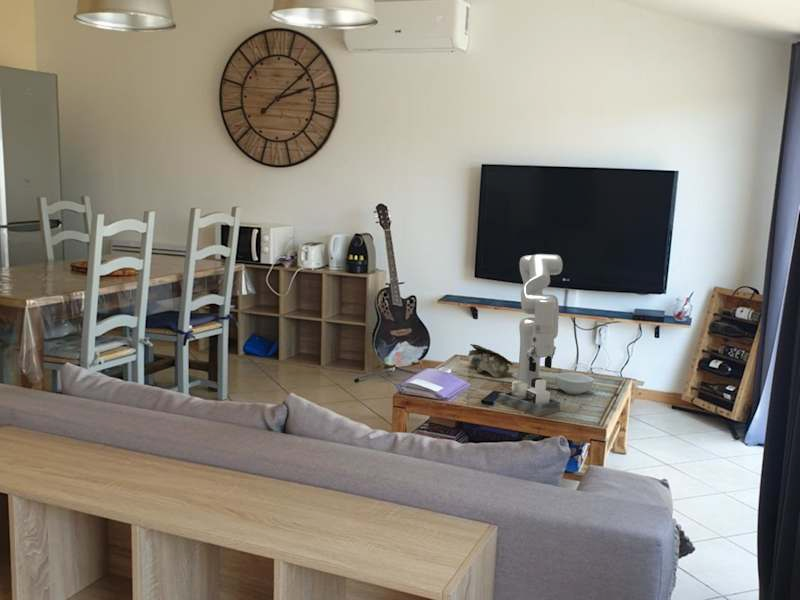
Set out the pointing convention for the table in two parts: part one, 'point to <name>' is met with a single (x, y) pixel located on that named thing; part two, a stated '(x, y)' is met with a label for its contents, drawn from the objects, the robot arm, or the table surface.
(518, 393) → the rail rack
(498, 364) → the hollow geode rock
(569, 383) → the cereal bowl
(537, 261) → the robot arm
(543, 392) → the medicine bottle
